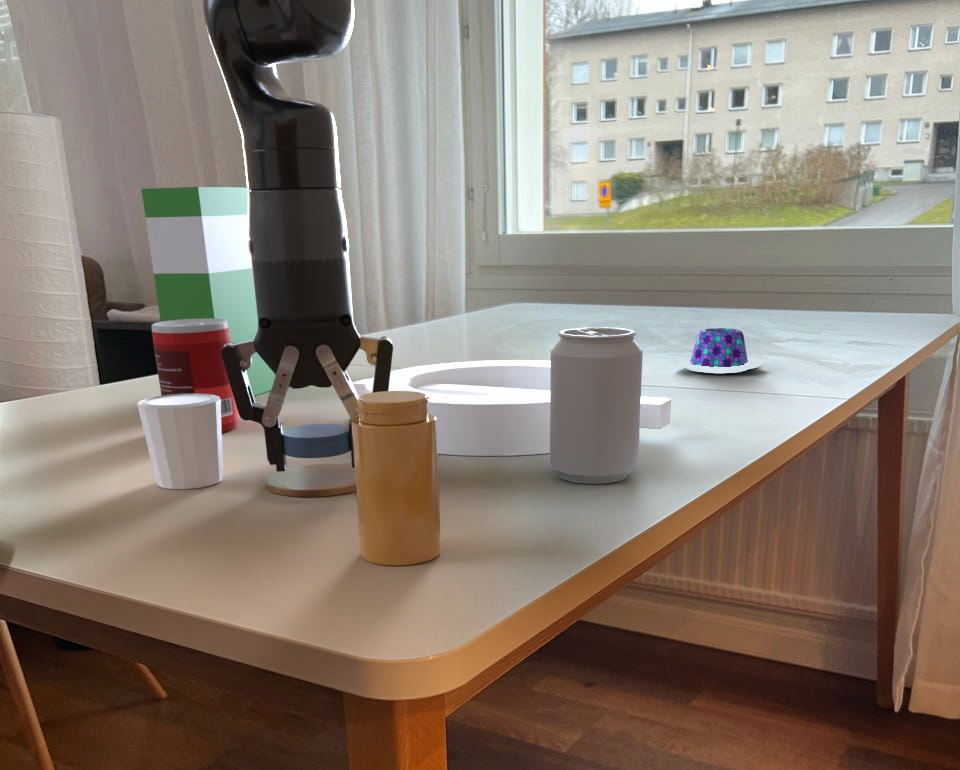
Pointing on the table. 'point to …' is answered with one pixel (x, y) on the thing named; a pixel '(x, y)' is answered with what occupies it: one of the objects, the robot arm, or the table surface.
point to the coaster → (313, 480)
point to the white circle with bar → (494, 405)
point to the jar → (396, 478)
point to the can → (595, 404)
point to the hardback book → (205, 262)
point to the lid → (316, 440)
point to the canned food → (195, 362)
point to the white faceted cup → (184, 439)
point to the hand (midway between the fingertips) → (318, 466)
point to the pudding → (719, 348)
